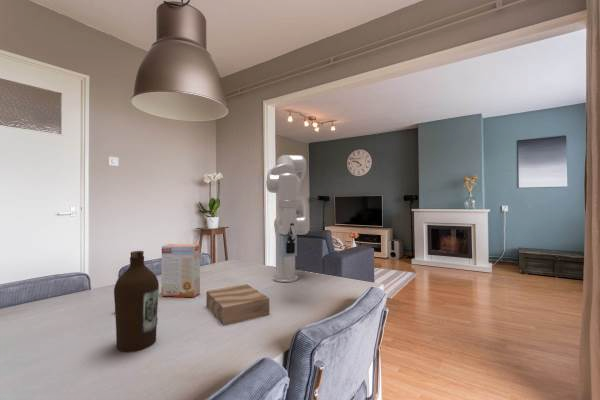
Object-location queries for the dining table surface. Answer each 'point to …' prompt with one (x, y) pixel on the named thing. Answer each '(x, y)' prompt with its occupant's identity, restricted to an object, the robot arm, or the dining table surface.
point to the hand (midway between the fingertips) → (287, 251)
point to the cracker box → (181, 270)
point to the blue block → (283, 246)
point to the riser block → (237, 303)
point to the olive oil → (136, 306)
